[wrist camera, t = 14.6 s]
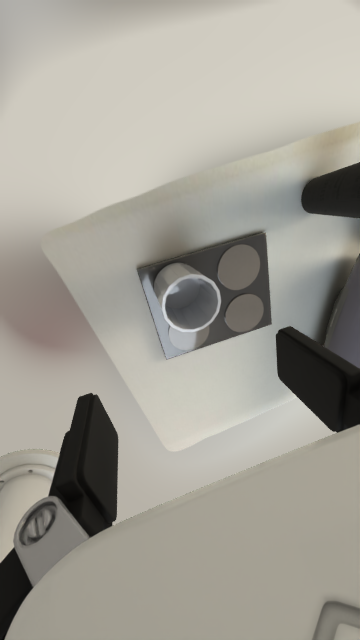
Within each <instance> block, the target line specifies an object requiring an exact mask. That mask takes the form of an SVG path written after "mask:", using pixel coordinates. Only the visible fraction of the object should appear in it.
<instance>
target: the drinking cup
mask: <svg viewBox="0 0 360 640" xmlns="http://www.w3.org/2000/svg"><path fill="white" fill-rule="evenodd" d="M301 201H302V206H303V208H304V210H305V211H306V212H308V213H312V214H322V215H332V216H342V217H352V218H360V162H359V163H356V164H353V165H351V166H348V167H345V168H342V169H339V170H337V171H334V172H331V173H328V174H325V175H322V176H320V177H317V178H314V179H312V180H311V181H310V182H309V183H308V184H307V185H306V187H305V188H304V190H303V193H302V199H301Z"/></svg>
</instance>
